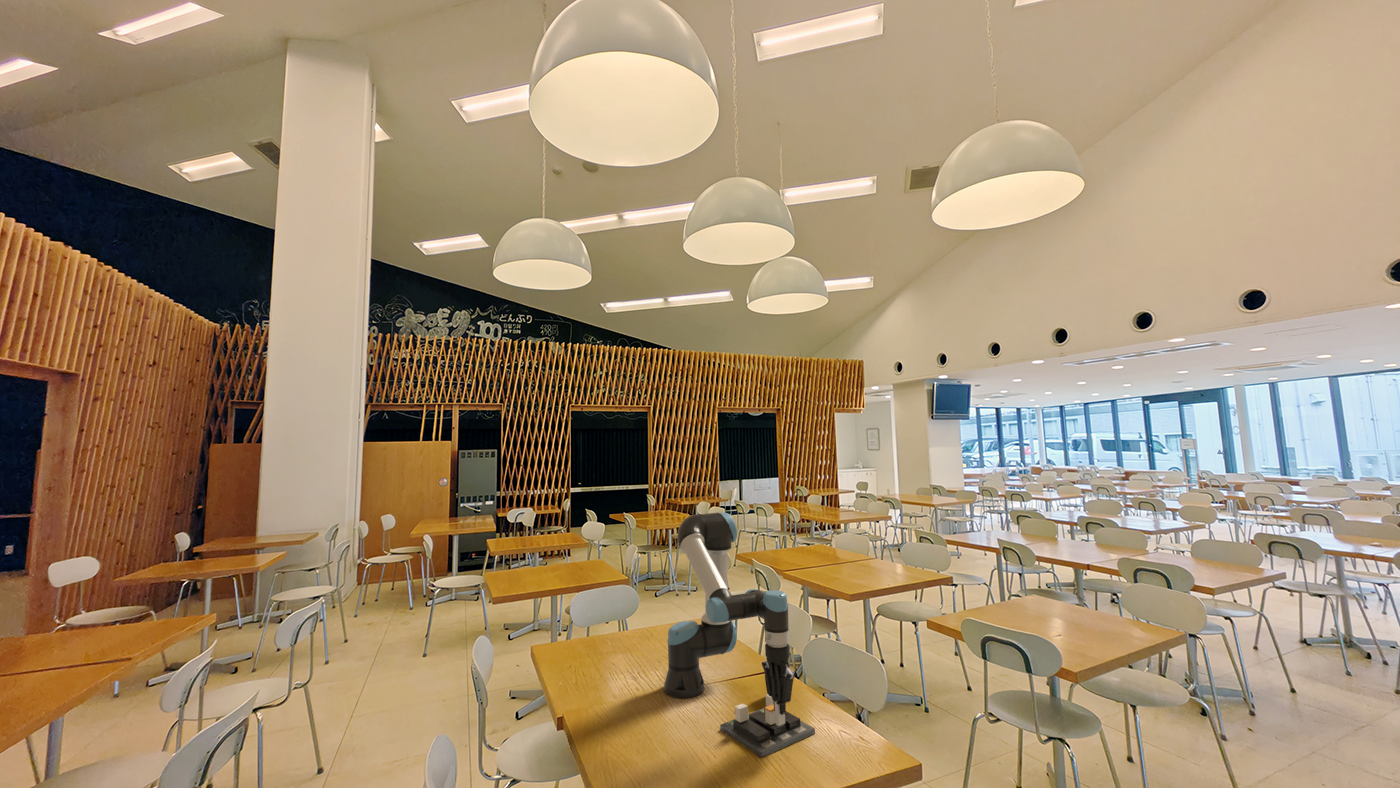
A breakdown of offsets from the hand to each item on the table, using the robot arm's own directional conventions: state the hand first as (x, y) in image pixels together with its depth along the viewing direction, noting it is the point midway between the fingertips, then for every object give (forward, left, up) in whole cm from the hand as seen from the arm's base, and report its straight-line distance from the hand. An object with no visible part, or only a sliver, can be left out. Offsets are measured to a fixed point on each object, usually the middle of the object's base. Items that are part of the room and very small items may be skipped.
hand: (780, 723), depth 163 cm
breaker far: (-11, +6, -1) cm, 13 cm away
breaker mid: (-4, 0, -1) cm, 4 cm away
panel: (-6, 0, -5) cm, 8 cm away
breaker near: (-11, -7, -1) cm, 13 cm away
